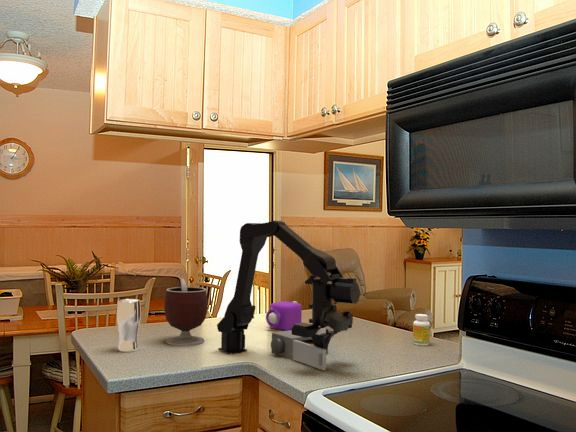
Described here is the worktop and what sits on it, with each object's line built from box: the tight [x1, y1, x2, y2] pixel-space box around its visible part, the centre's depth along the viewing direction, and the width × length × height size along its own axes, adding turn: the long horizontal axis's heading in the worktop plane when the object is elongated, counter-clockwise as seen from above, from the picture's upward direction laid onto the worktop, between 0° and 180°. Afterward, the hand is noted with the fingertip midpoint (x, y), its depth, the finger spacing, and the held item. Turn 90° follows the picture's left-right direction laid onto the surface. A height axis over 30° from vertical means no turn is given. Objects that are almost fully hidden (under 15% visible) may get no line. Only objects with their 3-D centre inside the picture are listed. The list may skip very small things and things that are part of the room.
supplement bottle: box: [412, 313, 431, 347], centre depth 186 cm, size 5×5×10 cm
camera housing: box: [270, 330, 329, 360], centre depth 170 cm, size 16×10×7 cm, turn 127°
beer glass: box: [116, 298, 142, 353], centre depth 170 cm, size 7×7×15 cm
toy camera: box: [265, 300, 303, 331], centre depth 208 cm, size 11×14×10 cm
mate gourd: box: [163, 277, 209, 347], centre depth 184 cm, size 16×14×20 cm
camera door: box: [291, 340, 327, 371], centre depth 156 cm, size 14×2×5 cm, turn 35°
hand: (322, 357), depth 154 cm, fingers closed
